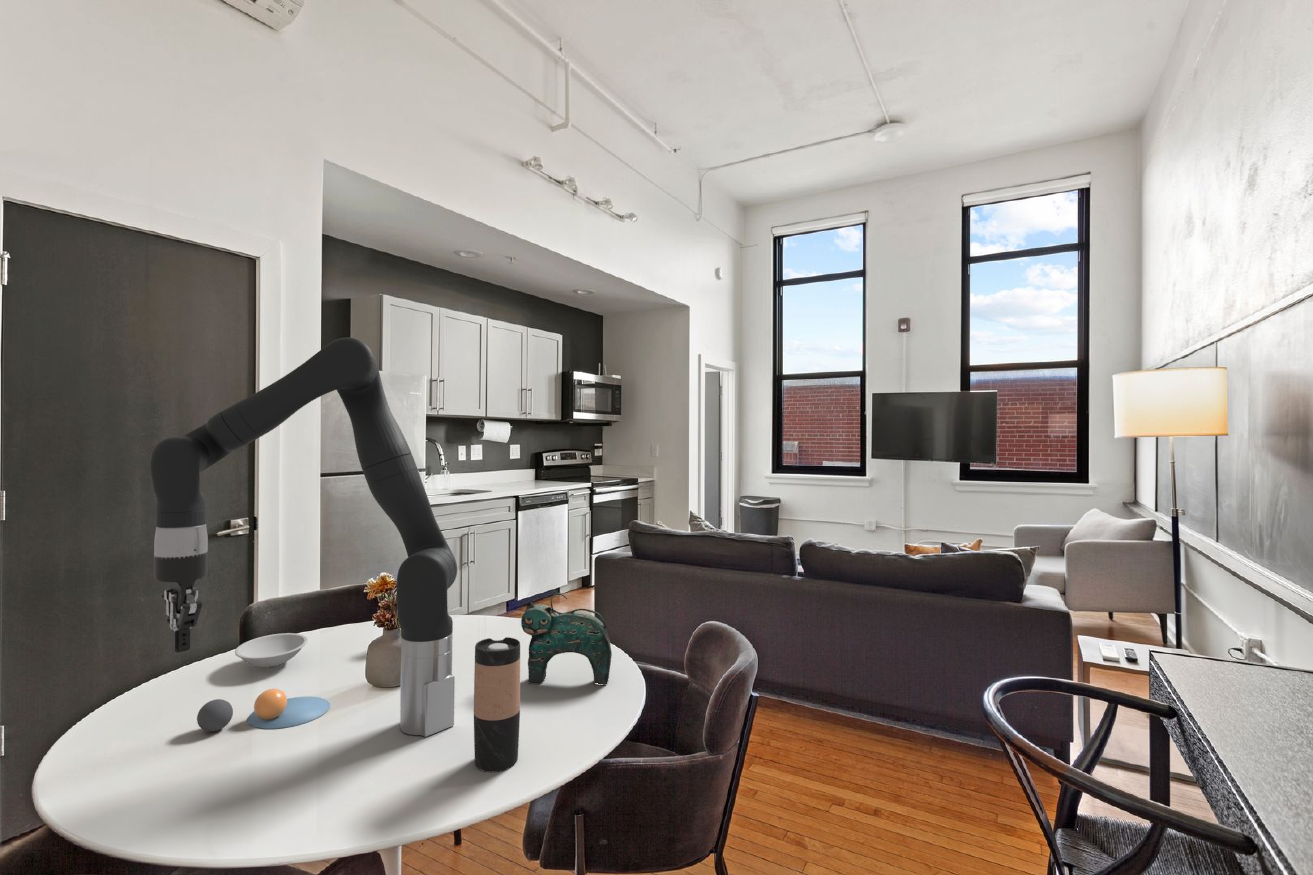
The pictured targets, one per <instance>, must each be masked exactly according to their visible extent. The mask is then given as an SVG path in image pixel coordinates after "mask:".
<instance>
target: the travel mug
mask: <svg viewBox="0 0 1313 875" xmlns="http://www.w3.org/2000/svg"><path fill="white" fill-rule="evenodd" d="M473 676H474V679H473V680H474V681H473V682H474V683H473V684H474V686H473V739H474V741H473V743H474V745H473V746H474V752H473V753H474V765H475V767H476V768H477V769H478V770H480V771H482V770H484V771H483V772H487V771H488V773H493V772H492V771H497V772H501V771H500V770H502V771H506V770H508V769H510V768H512V767H514V766H515V765H516V764H517V762H518V759H519V746H520V744H519V741H520V739H519V738H520V719H521V718H520V716H521V642H520V641H519V639H517V638H514V637H510V636H509V637H508V636H507V637H504V638H503V639H499V640H494V639H492V638H485V639H482V640H480V641H478V642H476V644H475V646H474V673H473ZM515 763H516V764H515ZM514 764H515V765H514ZM511 766H512V767H511ZM507 768H508V769H507ZM505 769H506V770H505ZM489 771H490V772H489Z"/></svg>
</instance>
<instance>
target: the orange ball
mask: <svg viewBox="0 0 1313 875" xmlns="http://www.w3.org/2000/svg"><path fill="white" fill-rule="evenodd" d="M287 699H288V697H287V695H286V694H285V692H284V691H282V690H280V689H278V688H271V689H267V690H264V691H263V692H262V693H260V694H259V695H258V696H257V697H256V699H255V701H254V704H253V712H254V711H255V714H256V715H257V716H258V717H259V718H261V719H264V720H270V719H274V718H276V717H278V716H280V715H281V714H282V713H283V711H284V710H285V708H286V706H287Z"/></svg>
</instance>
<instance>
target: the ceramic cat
mask: <svg viewBox="0 0 1313 875" xmlns="http://www.w3.org/2000/svg"><path fill="white" fill-rule="evenodd" d="M557 595H559V596H562V597H563V598H565V600H568V597H567V595H565V594H564V593H561V592H557V593H554V594H553V595H552V596H551V598H550V606H548V605H547V604H543V603H537V604H534V603H532V602H530V601H528V603H526V607H525V611H524V612H523V614H522V615H521V620H520V623H521V624H520V626H521V628H522V631H523V632H524V633H526V634H527V635H529V636H531V638H530V641H529V645H528V660H527V667H528V682H530V683H529V684H531V683H541V682H543V681H544V682H545V680H544V679H546V678H547V668H548V664H549V662H550V661H551V660H552V658H554V657H555V656H556V655H560V654H566V653H575V654H579V655H581V656H584V657H585V658H587V660H588V661H589V664H590V666H591V669H592V673H593V683H598V684H608V683H607V682H609V680H608V679H609V678H610V673H611V672H610V670H611V662H612V655H613V654H612V647H611V640H610V636H609V633H608V631H607V624H606V621H605V619H604V617H603V616H602V615H601V614H600V613H599V612H598V611H594V610H592V609H588V608H576V609H575V608H574V609H572V610H570V611H565V612H559V611H557V610H555V609H554V606H553V598H554V597H555V596H557ZM582 611H583V612H582ZM584 611H585V612H584ZM586 612H587V613H586ZM591 613H592V614H591ZM593 614H594V615H596V616H594V615H593ZM597 617H599V618H600V619H601V620H602V621H601V620H600V619H598V618H597ZM545 677H546V678H545ZM541 684H542V683H541Z"/></svg>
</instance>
